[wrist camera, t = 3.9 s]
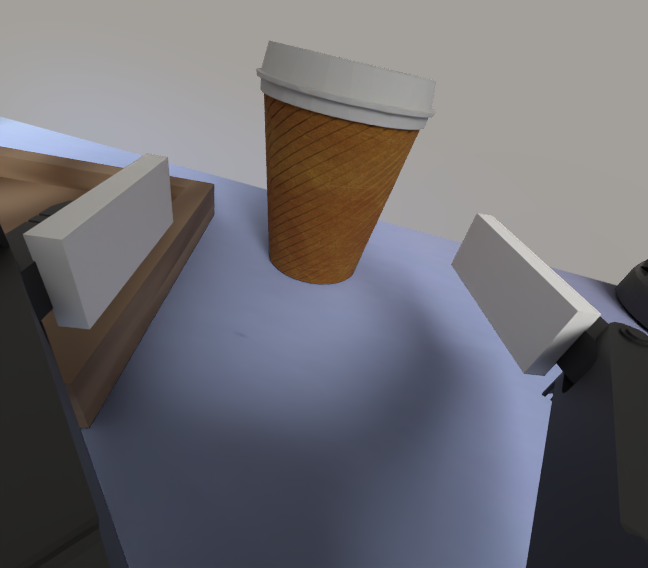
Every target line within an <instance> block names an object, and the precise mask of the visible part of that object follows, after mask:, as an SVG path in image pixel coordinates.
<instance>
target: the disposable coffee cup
mask: <svg viewBox="0 0 648 568" xmlns="http://www.w3.org/2000/svg"><path fill="white" fill-rule="evenodd" d="M256 71H257V76H259V77H260V78H261V90H262V92H263V93H264V104H265V135H266V136H265V137H266V166H267V198H268V231H269V257H270V260H271V262H272V264H273V265H274V266H275V267H276V268H277V269H278V270H280V271H281V272H283V273H284V274H286V275H288V276H290V277H292V278H294V279H297V280H300V281H303V282H308V283H314V284H333V283H338V282H342V281H344V280H346V279H348V278H349V277H351V276H352V275H353V273H354V271H355V269H356V266H357V264H358V262H359V260H360V257H361V255H362V253H363V251H364V249H365V247H366V244H367V242H368V240H369V238H370V236H371V234H372V231H373V229H374V227H375V225H376V223H377V221H378V218H379V216H380V214H381V212H382V210H383V207H384V206H385V203H386V201H387V199H388V197H389V195H390V193H391V191H392V189H393V187H394V184H395V182H396V180H397V178H398V176H399V173H400V171H401V169H402V167H403V165H404V162H405V160H406V158H407V156H408V154H409V152H410V149H411V148H412V145H413V143H414V141H415V138H416V137H417V135H418V133H419V130H420V129H423V128H424V127H425V125H426V122H427V120H428V117H433V116H434V114H435V110H433V109H432V103H433V97H434V90H435V83H436V82H435V81H434V80H430V79H426V78H421V77H418V76H414V75H410V74H405V73H401V72H397V71H393V70H389V69H385V68H381V67H376V66H372V65H369V64H364V63H360V62H356V61H352V60H348V59H343V58H340V57H335V56H331V55H327V54H323V53H319V52H315V51H311V50H306V49H302V48H298V47H294V46H290V45H285V44H282V43H277V42H273V41H269V43H268V46H267V50H266V53H265V58H264V61H263V65H262V68H258V69H256Z"/></svg>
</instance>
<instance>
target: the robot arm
mask: <svg viewBox="0 0 648 568" xmlns="http://www.w3.org/2000/svg"><path fill="white" fill-rule="evenodd" d="M172 223H173V213H172V201H171V189H170V177H169V165H168V157H163V156H158V155H152V154H145V155H144V156H142V157H141V158H139V159H138V160H136V161H134V162H133V163H131V164H130V165H128V166H127V167H125V168H124V169H122V170H121V171H119V172H118V173H116V174H114V175H113V176H111V177H110V178H108V179H107V180H105V181H104V182H102V183H101V184H99V185H98V186H96V187H95V188H93V189H91V190H90V191H88V192H87V193H85V194H84V195H82V196H81V197H79V198H78V199H76V200H75V201H71V200H69V201H66V202H62V203H59V204H56V205H52V206H50V207H49V208H47V209H45V210H44V211H42V212H41V213H39V215H36V216H34V217H32V218H31V219H29V220H28V222H24V223H23V224H21V225H19V226H18V227H16V228H14V229H13V230H11V231H10V232H8V233H6V234H4V231H3V229H2V227H1V224H0V568H129V567H128V564H127V561H126V558H125V556H124V553H123V550H122V547H121V544H120V541H119V538H118V536H117V533H116V530H115V527H114V524H113V521H112V518H111V515H110V513H109V510H108V507H107V504H106V501H105V498H104V495H103V493H102V490H101V487H100V484H99V481H98V478H97V475H96V473H95V470H94V467H93V464H92V461H91V458H90V455H89V453H88V450H87V447H86V444H85V441H84V438H83V435H82V433H81V430H80V427H79V424H78V421H77V418H76V415H75V413H74V410H73V407H72V404H71V401H70V398H69V395H68V393H67V390H66V387H65V384H64V381H63V378H62V375H61V373H60V370H59V367H58V364H57V361H56V358H55V355H54V353H53V350H52V347H51V344H50V341H49V338H48V335H47V333H46V330H45V327H44V325H43V323H42V319H43V318H44V317H45V316H46V315H47V314H48V313H49V312H50V311H51V310H52V311H53V313H54V316H55V318H56V321H57V323H58V326H62V327H72V328H81V329H91V327H92V326H93V325H94V324H95V322H96V321H97V320H98V318H99V317H100V316H101V315H102V313H103V312H104V311H105V309H106V308H107V307H108V306H109V304H110V303H111V302H112V300H113V299H114V298H115V296H116V295H117V294H118V293H119V291H120V290H121V289H122V287H123V286H124V285H125V284H126V282H127V281H128V280H129V278H130V277H131V276H132V275H133V273H134V272H135V271H136V269H137V268H138V267H139V266H140V264H141V263H142V262H143V260H144V259H145V258H146V257H147V255H148V254H149V253H150V251H151V250H152V249H153V247H154V246H155V245H156V244H157V242H158V241H159V240H160V238H161V237H162V236H163V235H164V233H165V232H166V231H167V229H168V228H169V227H170V226H171V224H172ZM451 265H452V266H453V268H454V269H455V271H456V272H457V274H458V275H459V277H460V278H461V280H462V281H463V283H464V284H465V286H466V287H467V289H468V290H469V292H470V293H471V295H472V297H473V298H474V300H475V301H476V303H477V304H478V306H479V307H480V309H481V310H482V312H483V313H484V315H485V316H486V318H487V319H488V321H489V322H490V324H491V325H492V327H493V328H494V330H495V331H496V333H497V334H498V336H499V337H500V339H501V340H502V342H503V343H504V345H505V346H506V348H507V349H508V351H509V352H510V354H511V355H512V357H513V358H514V360H515V361H516V363H517V364H518V366H519V367H520V369H521V370H522V372H523V373H524V374H531V375H541V376H545V375H546V374H547V372H548V371H549V370H550V369H551V368H552V367H553V366H554V365H555V364H556V363H557V364H558V366H559V367H560V368H561V370H562V371H563V372H562V373H561V374H560V375H559V376H558V377H557V378H556V379H555V380H554V381H553V382H552V383H551V384H550V386H549V387H548V388H547V389H546V390H545V391H544V392H543V393H542V395H543V396H546V395H547V394H550V393H553V397H552V398H551V399H550V400H551V401H552V405H551V412H550V418H549V424H548V431H547V437H546V444H545V450H544V456H543V463H542V469H541V475H540V482H539V488H538V495H537V501H536V507H535V514H534V520H533V526H532V533H531V539H530V546H529V552H528V558H527V565H526V568H648V336H647V335H646V334H645V333H643V332H642V331H640V330H638V329H635V328H633V327H630V326H628V325H625V324H622V323H617V322H613V323H610V324H608V323H607V322H606V321H605V320H604V319H602V318H601V317H600V315H601V313H600V312H598V311H597V310H596V309H595V308H594V307H593V306H592V305H591V304H590V303H588V302H587V301H586V300H585V299H584V298H583V297H582V296H581V295H580V294H578V293H577V292H576V291H575V290H574V289H573V288H572V287H571V286H570V285H569V284H567V283H566V282H565V281H564V280H563V279H562V278H561V277H560V276H559V275H557V274H556V273H555V272H554V271H553V270H552V269H551V268H550V267H549V266H548V265H546V264H545V263H544V262H543V261H542V260H541V259H540V258H538V256H536V255H535V254H534V253H533V252H532V251H531V250H530V249H529V248H528V247H526V246H525V245H524V244H523V243H522V242H521V241H520V240H519V239H517V237H515V236H514V235H513V234H512V233H511V232H510V231H509V230H508V229H506V228H505V227H504V226H503V225H502V224H501V223H500V222H499V221H498V220H497V219H495V218H494V217H493V216H490V215H485V214H479V213H477V215H476V216H475V218H474V220H473V222H472V224H471V226H470V228H469V230H468V232H467V234H466V236H465V238H464V240H463V242H462V244H461V246H460V248H459V250H458V252H457V254H456V256H455V258H454V260H453V262H452V264H451ZM616 293H617V296H618V298H619V300H620V302H621V303H622V304H623V306H624V307H625V308H626V309H627V310H628V311H629V313H630V314H631V315H632V316H633V317H635V318H636V319H637V320H638V321H639V322H640V323H641V324H642V325H644V326H645V327H646V328H647V329H648V259H647V260H646V261H643V262H642V263H640V264H638V265H637V266H636V267H634V268H633V269H632V270H631V271H630V273H628V275H627V276H626V277H625V278H624V279H623V280H622V281H621V282H620V283H619V284H618V286H617V287H616Z"/></svg>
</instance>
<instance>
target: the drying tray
mask: <svg viewBox="0 0 648 568" xmlns="http://www.w3.org/2000/svg"><path fill="white" fill-rule="evenodd" d="M122 169H124V168H120V167H114V166H109V165H103V164H97V163H92V162H86V161H80V160H74V159H69V158H63V157H57V156H52V155H46V154H40V153H35V152H29V151H23V150H18V149H12V148H6V147H0V224H1V227H2V229H3V231H4V234H6V233H8V232H10V231H11V230H13V229H14V228H16V227H18V226H19V225H21V224H23V223H24V222H28V220H29V219H31V218H32V217H34V216H36V215H39V213H41V212H42V211H44V210H45V209H47V208H49V207H50V206H52V205H56V204H59V203H62V202H66V201H69V200H71V201H75V200H76V199H78V198H79V197H81V196H82V195H84V194H85V193H87V192H88V191H90V190H91V189H93V188H95V187H96V186H98V185H99V184H101V183H102V182H104V181H105V180H107V179H108V178H110V177H111V176H113V175H114V174H116V173H118V172H119V171H121V170H122ZM169 177H170V189H171V201H172V213H173V223H172V224H171V226H170V227H169V228H168V229H167V231H166V232H165V233H164V235H163V236H162V237H161V238H160V240H159V241H158V242H157V244H156V245H155V246H154V247H153V249H152V250H151V251H150V253H149V254H148V255H147V257H146V258H145V259H144V260H143V262H142V263H141V264H140V266H139V267H138V268H137V269H136V271H135V272H134V273H133V275H132V276H131V277H130V278H129V280H128V281H127V282H126V284H125V285H124V286H123V287H122V289H121V290H120V291H119V293H118V294H117V295H116V296H115V298H114V299H113V300H112V302H111V303H110V304H109V306H108V307H107V308H106V309H105V311H104V312H103V313H102V315H101V316H100V317H99V318H98V320H97V321H96V322H95V324H94V325H93V326H92V327H91V329H81V328H72V327H62V326H58V323H57V321H56V318H55V316H54V313H53V311H52V310H51V311H50V312H49V313H48V314H47V315H46V316H45V317H44V318H43V319H42V323H43V325H44V327H45V330H46V333H47V335H48V338H49V341H50V344H51V347H52V350H53V353H54V355H55V358H56V361H57V364H58V367H59V370H60V373H61V375H62V378H63V381H64V384H65V387H66V390H67V393H68V395H69V398H70V401H71V404H72V407H73V410H74V413H75V415H76V418H77V421H78V424H79V427H82V428H90V426H91V424H92V422H93V421H94V419H95V417H96V416H97V414H98V412H99V410H100V409H101V407H102V405H103V404H104V402H105V400H106V398H107V397H108V395H109V393H110V392H111V390H112V388H113V387H114V385H115V383H116V381H117V380H118V378H119V376H120V375H121V373H122V371H123V369H124V368H125V366H126V364H127V363H128V361H129V359H130V358H131V356H132V354H133V352H134V351H135V349H136V347H137V346H138V344H139V342H140V340H141V339H142V337H143V335H144V334H145V332H146V330H147V328H148V327H149V325H150V323H151V322H152V320H153V318H154V317H155V315H156V313H157V311H158V310H159V308H160V306H161V305H162V303H163V301H164V299H165V298H166V296H167V294H168V293H169V291H170V289H171V288H172V286H173V284H174V282H175V281H176V279H177V277H178V276H179V274H180V272H181V270H182V269H183V267H184V265H185V264H186V262H187V260H188V258H189V257H190V255H191V253H192V252H193V250H194V248H195V247H196V245H197V243H198V241H199V240H200V238H201V236H202V235H203V233H204V231H205V229H206V228H207V226H208V224H209V223H210V221H211V219H212V218H213V216H214V184H211V183H206V182H200V181H194V180H188V179H183V178H177V177H171V176H169Z"/></svg>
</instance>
